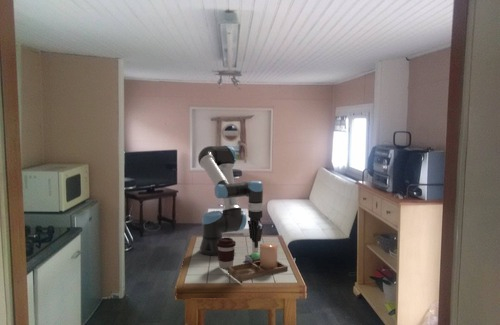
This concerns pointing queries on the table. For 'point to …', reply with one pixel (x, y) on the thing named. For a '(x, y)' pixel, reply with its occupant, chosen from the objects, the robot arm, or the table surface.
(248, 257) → the grey square frame
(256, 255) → the button
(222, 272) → the table surface
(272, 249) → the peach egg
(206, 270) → the table surface
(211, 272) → the table surface
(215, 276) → the table surface
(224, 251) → the coffee cup
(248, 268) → the divided tray
